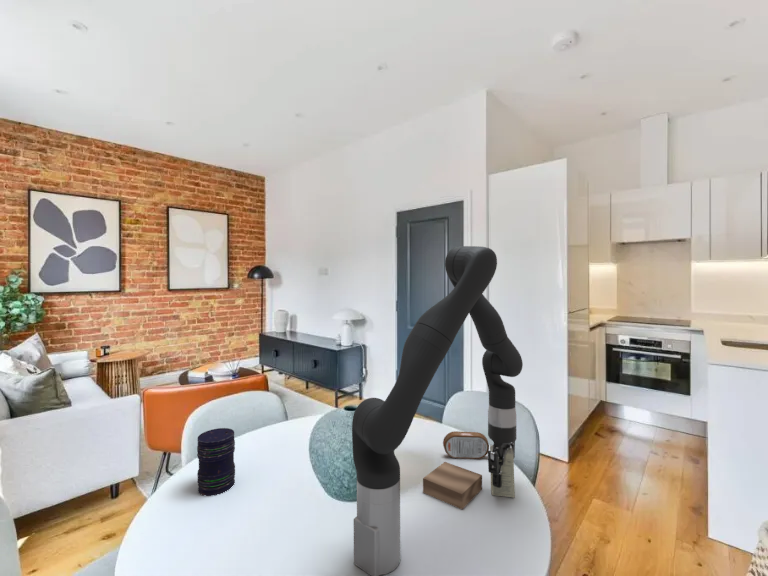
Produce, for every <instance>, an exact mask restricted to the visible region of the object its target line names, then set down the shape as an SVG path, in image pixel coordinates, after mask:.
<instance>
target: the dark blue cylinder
mask: <svg viewBox="0 0 768 576" xmlns="http://www.w3.org/2000/svg"><path fill="white" fill-rule="evenodd" d="M235 441H236V440H235V430H234V429H232V428H228V427H222V428H221V427H220V428H214V429H209V430H206V431H204V432H202V433H200V434H199V435H198V436H197V446H196V450H197V452H196V453H197V454H196V456H197V459H198V470H197V474H196V476H197V486H198V487H197V492H198V494H199V493H200V494H199V495H201V494H202V495H201V496H204V495H206V496H205V497H211V495H214V496H218V495H217V494H219V495H221V493H222V494H224V493H226V492H228V491H230V490H231V489H232V488H233V487H234V486H235V484H234V483H235V481H236V480H235V477H236V476H235V475H236V464H235V460H234V459H235V457H234V456H235V455H234V453H235V450H236V447H235V445H236V444H235V443H236V442H235ZM233 485H234V486H233ZM232 486H233V487H232ZM231 487H232V488H231ZM230 488H231V489H230ZM229 489H230V490H229ZM227 490H228V491H227ZM225 491H226V492H225ZM223 492H224V493H223Z"/></svg>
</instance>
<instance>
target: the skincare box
mask: <svg viewBox="0 0 768 576" xmlns="http://www.w3.org/2000/svg"><path fill="white" fill-rule="evenodd" d="M492 448H493V444H491V445H489V451H493V450H492ZM514 459H515V457H514V454H513V448H512V449H510V450H509V449H508V453H507V455H506V461H505V465H504V466H503V467H502V473H501V474H502V486H501V487H500V488H498V487H495V486H493V473H490V492H491V495H492V496H499V497H504V498H505V497H506V498H512V499H513V498H515V496H516V495H515V460H514ZM501 461H502V460H500V459H499V462H501Z"/></svg>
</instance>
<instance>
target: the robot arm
mask: <svg viewBox="0 0 768 576" xmlns="http://www.w3.org/2000/svg"><path fill="white" fill-rule="evenodd" d="M444 260H445V261H444V267H445V272H446V275H447V276H448V279H449V281H450V282H451V284H452V286H453V287H454V288H453V289H452V290H451V291H450V292H449V293H448V294H447V295H446V296H445V297H444V298H442V299H441V300H440V301H438V302H436V303H435V304H434V305H433V306H431V307H429V309H428V310H426V311H425V312H424V313H423V314H422V315H421V316H420V317H419V318H418V319H417V321H416V322H415V324H414V326H413V327H412V328H411V331H410V332H409V334H408V335H407V338H406V339H405V342H404V344H403V348H402V354H401V359H400V367H399V370H398V371H399V372H398V376H397V378H396V381H395V383H394V386H393V387H392V389H391V391H390V392H389V394H388V395H387V397H386V399H385V400H383V399H381V398H377V397H369V398H366V399H363V400H362V401H361V402H360V403H359V404H358V406H356V407H355V410H354V413H353V415H352V421H351V423H352V424H351V435H352V436H351V437H352V439H351V440H352V459H353V464H354V467H355V471H356V516H355V517H354V518H353V564H354V565H356V566H357V567H358V568H360V569H361V570H362V571H364V572H365V573H367V574H368V575H370V576H381V575H387V574H389V573H392V572H393V571H394V570H395V569H397V568H398V566H399V565H400V562H401V466H400V462H399V460H398V458H397V457H396V454H395V450H397V449H398V447H399V446H400V445H401V444H402V442H403V441H404V440H405V437H406V435H407V434H408V432H409V429H410V427H411V425H412V422H413V421H414V418H415V416H416V413H417V410H418V408H419V406H420V404H421V401H422V399H423V398H424V395H425V393H426V392H427V389H428V388H429V386H430V384H431V382H432V380H433V378H434V376H435V374H436V372H437V370H438V369H439V367H440V365H441V363H442V362H443V360H444V359H445V357H446V355H447V353H449V350H450V347H451V346H452V344H453V342H454V341H455V338H456V336H457V334H458V333H459V331H460V329H461V327H462V326H463V324H464V323H465V321H466V319H467V318H468V316H469V315H470V318H471V320H472V322H473V324H474V327H475V330H476V332H477V335H478V339H479V341H480V343H481V346H482V347H483V348H484V349H485V352H484V353H483V356H482V361H481V365H482V369H483V372H484V377H485V380H486V383H487V384H486V385H487V387H488V409H487V436H488V438H489V439H490V440H491V441H492V442H493V444H492V445H493V448H492V450H493V451H490V450H489V451H488V453H487V464H488V465H487V466H488V473H490V474H491V473H493V486H495V487H498V488H500V487H501V486H502V474H501V473H502V467H503V466H504V465H505V461H506V455H507V453H508V449H509V450H510V449H512V448H513V454H514V458H515V457H516V456H515V454H516V450H515V449H516V441H517V409H516V388H515V387H514V385H512V384H510V383H509V382H507V381H505V380H504V379H503V378H502V377H501V376H503V377H507V378H508V377H510V378H515V377H517V376H519V375H520V374H521V373H522V369H523V358H522V355H521V354H520V352H519V350H518V349H517V347H516V346H515V345H514V344H513V342H512V341H511V339H510V338H509V337H508V334H507V331H506V329H505V324H504V322H503V318H502V317H501V315H500V314H499V312H498V311H497V310H496V309H495V307H494V306H493V304H492V303H490V301H489V300H488V299H487V298H486V296H485V295H484V294H483V293H484V292H485V290H486V289H487V288H488V286H489V285H490V283H491V282H492V280H493V277H494V276H495V274H496V271H497V267H498V258H497V255H496V252H495V251H494V250H493V249H491V248H489V247H486V246H473V245H471V246H470V245H465V246H463V245H462V246H461V245H460V246H454V247H452V248H451V249H450V250H449V251H448V252H447V254H446V257H445V259H444ZM499 459H500V460H502V461H501V462H499Z"/></svg>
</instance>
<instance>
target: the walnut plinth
mask: <svg viewBox="0 0 768 576" xmlns="http://www.w3.org/2000/svg"><path fill="white" fill-rule="evenodd" d="M482 490H483V474H480V473H477V472H475V471H472V470H469V469H466V468H463V467H460V466H458V465H455V464H453V463H450V462H447V461H443V463H441V464H439V466H437V467H436V468H434V469H433V470H432V471H431V472H430V473H428V474H427V475H425V476H424V477H423V478H422V492H423V494H425V495H427V496H430V497H432V498H434V499H437V500H439V501H442V502H443V501H444V502H443V503H446V504H448V505H450V506H454V507H456V508H458V509H460V510H464V508H465V507H466V506H467V505H468V504H469V503H470V502H471V501H472V500H474V498H475V497H476V496H477V495H478V494H479V493H480V492H481V491H482Z"/></svg>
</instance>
